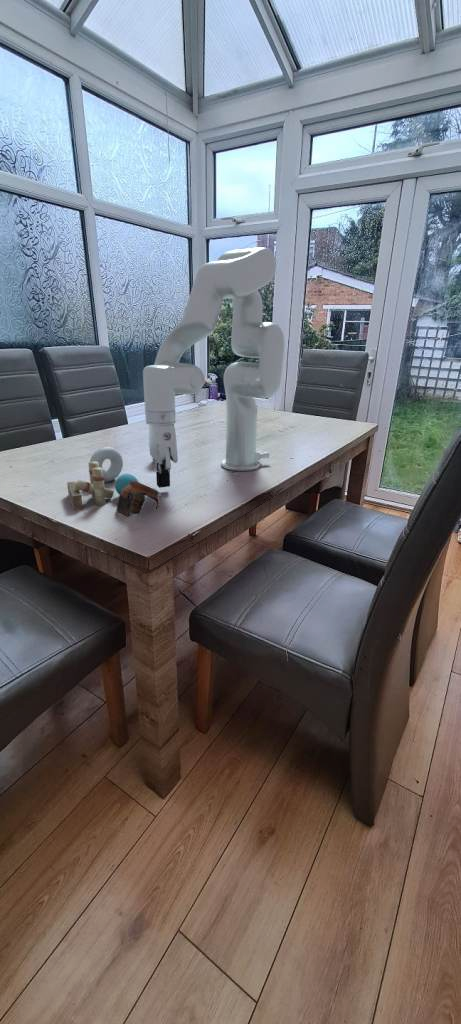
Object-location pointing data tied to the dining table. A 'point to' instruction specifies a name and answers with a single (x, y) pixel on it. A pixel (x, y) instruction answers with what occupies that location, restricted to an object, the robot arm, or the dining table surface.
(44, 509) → the dining table surface
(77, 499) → the stopper strip
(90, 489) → the front pin
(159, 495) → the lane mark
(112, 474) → the donut
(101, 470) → the pin
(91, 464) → the pin
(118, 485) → the ball
